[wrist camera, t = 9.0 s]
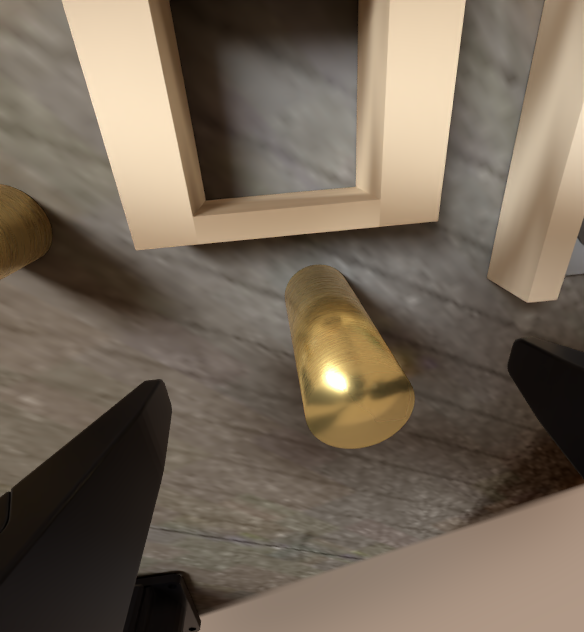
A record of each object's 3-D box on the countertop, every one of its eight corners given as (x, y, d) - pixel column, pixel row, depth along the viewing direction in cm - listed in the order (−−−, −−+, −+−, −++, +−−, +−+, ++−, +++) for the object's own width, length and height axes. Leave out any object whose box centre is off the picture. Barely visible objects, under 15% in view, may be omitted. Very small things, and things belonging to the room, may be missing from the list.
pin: (348, 320, 13) (409, 441, 8) (287, 327, 13) (308, 454, 8) (349, 261, 12) (420, 357, 7) (282, 268, 12) (301, 371, 7)
